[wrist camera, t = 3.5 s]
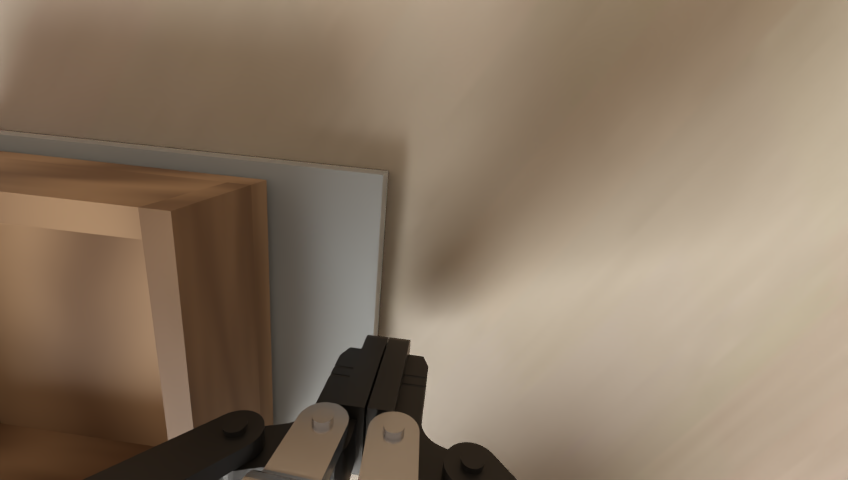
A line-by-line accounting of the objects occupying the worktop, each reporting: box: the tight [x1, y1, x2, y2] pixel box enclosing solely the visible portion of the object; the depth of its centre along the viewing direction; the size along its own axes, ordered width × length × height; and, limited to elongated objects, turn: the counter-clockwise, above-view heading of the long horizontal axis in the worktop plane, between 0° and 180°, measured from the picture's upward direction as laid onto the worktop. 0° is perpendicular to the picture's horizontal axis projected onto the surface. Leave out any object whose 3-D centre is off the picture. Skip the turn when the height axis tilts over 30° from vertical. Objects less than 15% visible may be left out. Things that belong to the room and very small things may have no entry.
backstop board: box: [0, 130, 388, 425], centre depth 14 cm, size 21×12×5 cm, turn 85°
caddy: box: [0, 151, 273, 480], centre depth 13 cm, size 12×12×4 cm
